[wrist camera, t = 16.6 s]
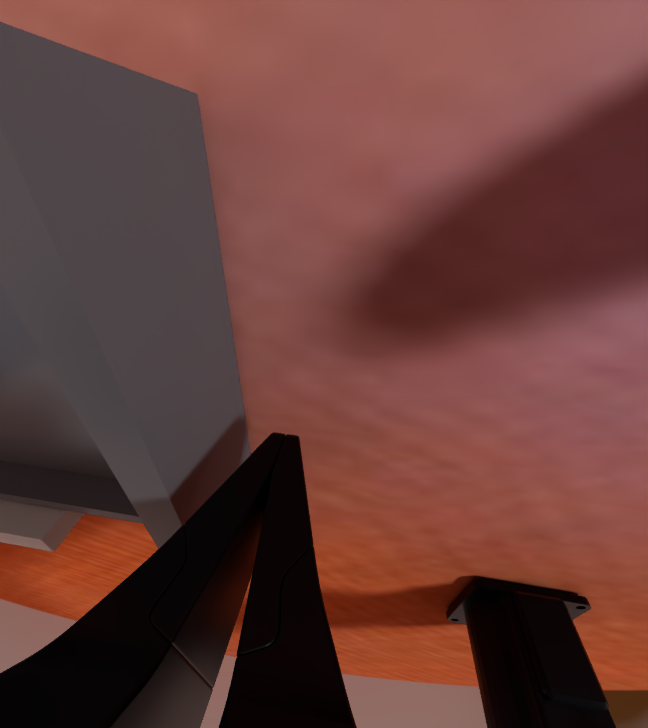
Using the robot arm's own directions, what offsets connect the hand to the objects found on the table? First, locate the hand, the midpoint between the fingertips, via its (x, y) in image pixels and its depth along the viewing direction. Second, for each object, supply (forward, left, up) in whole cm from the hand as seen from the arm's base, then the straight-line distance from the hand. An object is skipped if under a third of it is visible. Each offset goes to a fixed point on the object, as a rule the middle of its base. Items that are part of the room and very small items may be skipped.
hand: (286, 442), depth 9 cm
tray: (0, +12, -3) cm, 12 cm away
